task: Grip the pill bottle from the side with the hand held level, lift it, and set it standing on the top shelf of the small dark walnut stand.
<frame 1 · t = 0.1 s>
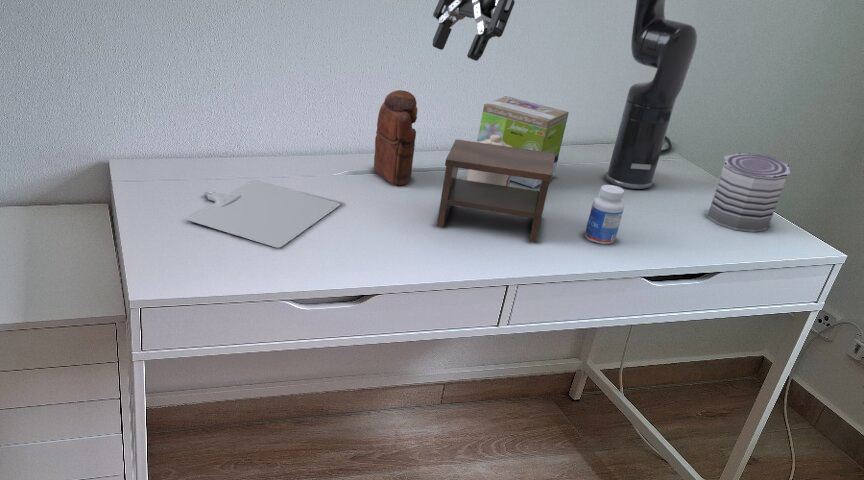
hand: (454, 53, 144), 31 cm above the table, tool tilted 20°, fingers open, 8 cm apart
grey clipboard: (256, 211, 164), on the table
can: (737, 221, 170), on the table
teacup with lid: (483, 189, 179), on the table
walnut stand: (488, 222, 164), on the table
wooden figurine: (392, 177, 183), on the table
pill bottle: (599, 239, 160), on the table
tea box: (512, 174, 188), on the table
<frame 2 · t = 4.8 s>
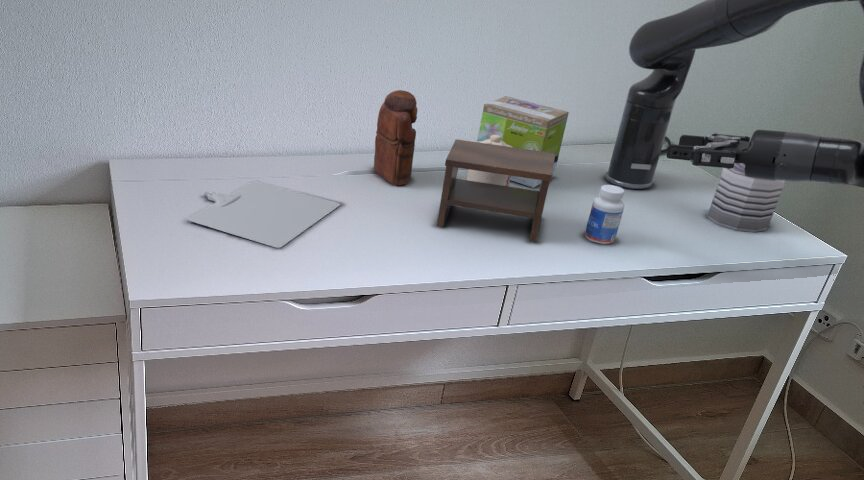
hand: (673, 146, 146), 19 cm above the table, tool horizontal, fingers open, 8 cm apart
nothing on the table moved.
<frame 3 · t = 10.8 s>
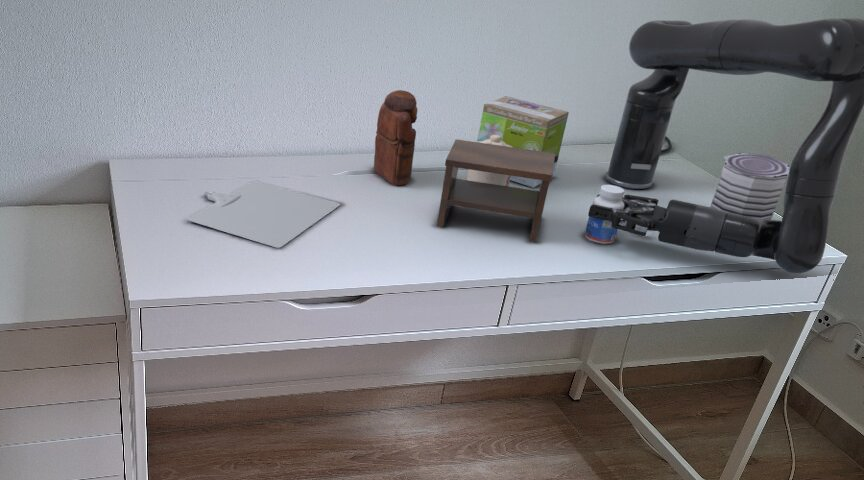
hand: (593, 205, 157), 6 cm above the table, tool horizontal, fingers closed on pill bottle, 5 cm apart
pill bottle: (599, 239, 160), on the table, touching gripper
everything else where it was.
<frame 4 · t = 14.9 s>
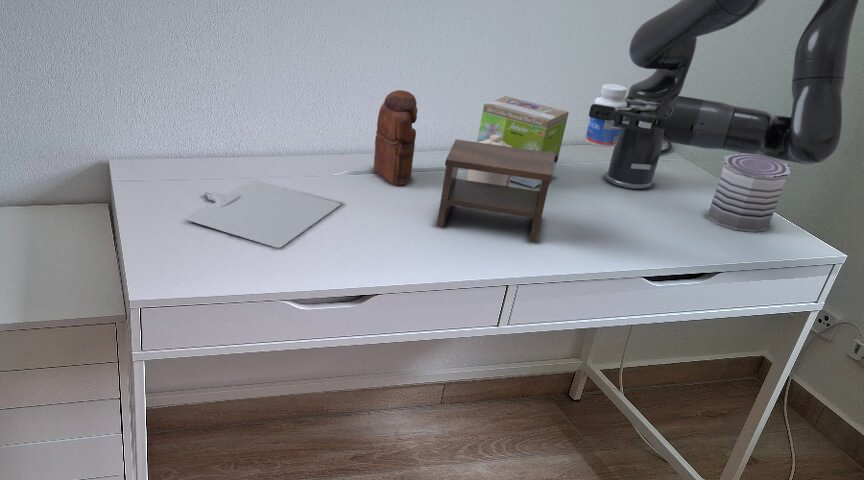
hand: (593, 106, 149), 24 cm above the table, tool horizontal, fingers closed on pill bottle, 5 cm apart
pill bottle: (600, 143, 151), point 17 cm above the table, touching gripper
everything else where it was.
when the fingers open (19 cm above the table, at t = 18.8 s): pill bottle stays where it is, resting on walnut stand.
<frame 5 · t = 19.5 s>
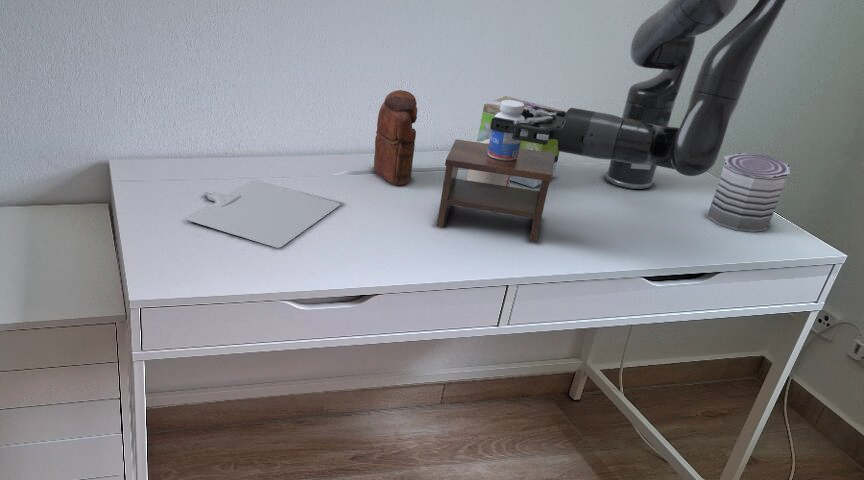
hand: (498, 117, 154), 20 cm above the table, tool horizontal, fingers open, 8 cm apart
pill bottle: (502, 157, 157), point 13 cm above the table, touching walnut stand
everything else where it was.
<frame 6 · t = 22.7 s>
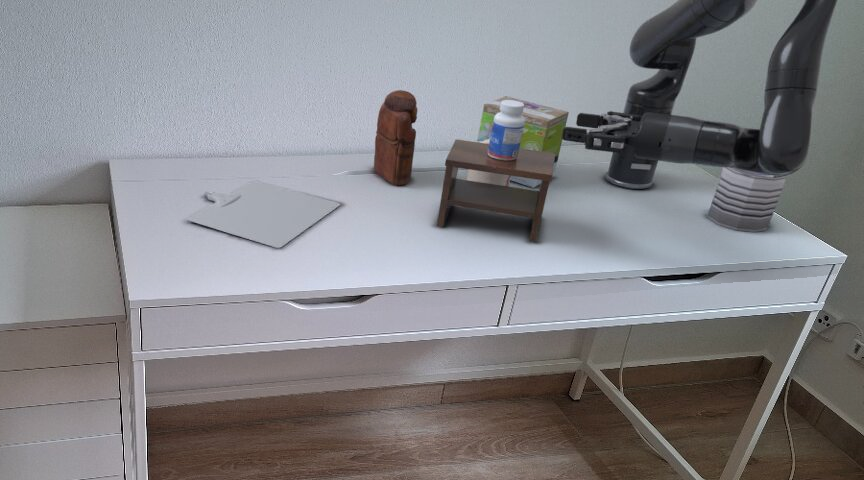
hand: (570, 126, 151), 20 cm above the table, tool horizontal, fingers open, 8 cm apart
nothing on the table moved.
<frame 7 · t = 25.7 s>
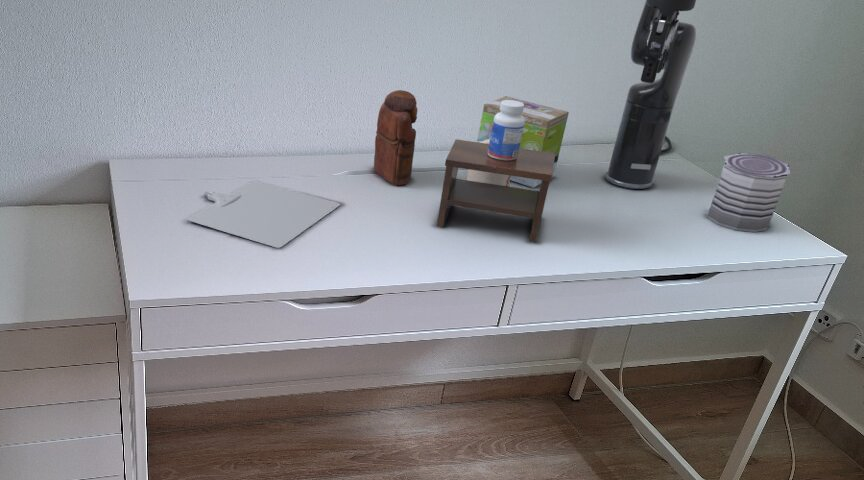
hand: (650, 77, 150), 28 cm above the table, tool pointing down, fingers open, 8 cm apart
nothing on the table moved.
at the end: pill bottle inside the target area on the walnut stand (0.1 cm from its centre), point 12.8 cm above the walnut stand's base; pill bottle tilted 0°; the gripper is holding nothing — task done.
